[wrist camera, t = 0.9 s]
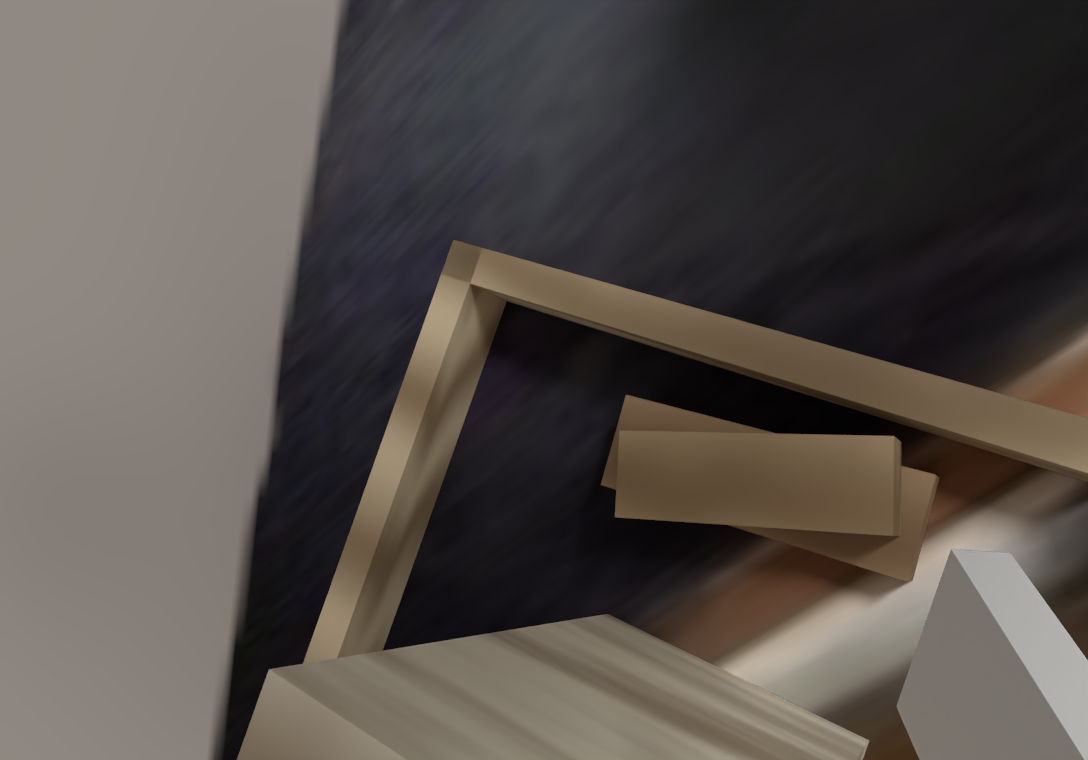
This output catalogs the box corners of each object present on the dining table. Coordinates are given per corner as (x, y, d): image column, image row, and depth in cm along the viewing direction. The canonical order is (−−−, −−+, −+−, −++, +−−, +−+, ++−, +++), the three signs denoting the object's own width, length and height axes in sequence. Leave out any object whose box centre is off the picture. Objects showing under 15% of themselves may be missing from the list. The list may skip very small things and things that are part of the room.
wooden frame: (490, 260, 40) (453, 239, 37) (1126, 443, 28) (1138, 432, 25) (295, 810, 40) (244, 829, 37) (849, 1226, 28) (832, 1296, 25)
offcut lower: (646, 402, 36) (625, 394, 34) (940, 479, 31) (936, 474, 29) (623, 488, 36) (600, 485, 34) (914, 579, 31) (907, 581, 29)
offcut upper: (640, 436, 33) (619, 430, 32) (901, 442, 29) (894, 436, 28) (636, 518, 33) (614, 517, 31) (900, 536, 29) (893, 536, 27)
